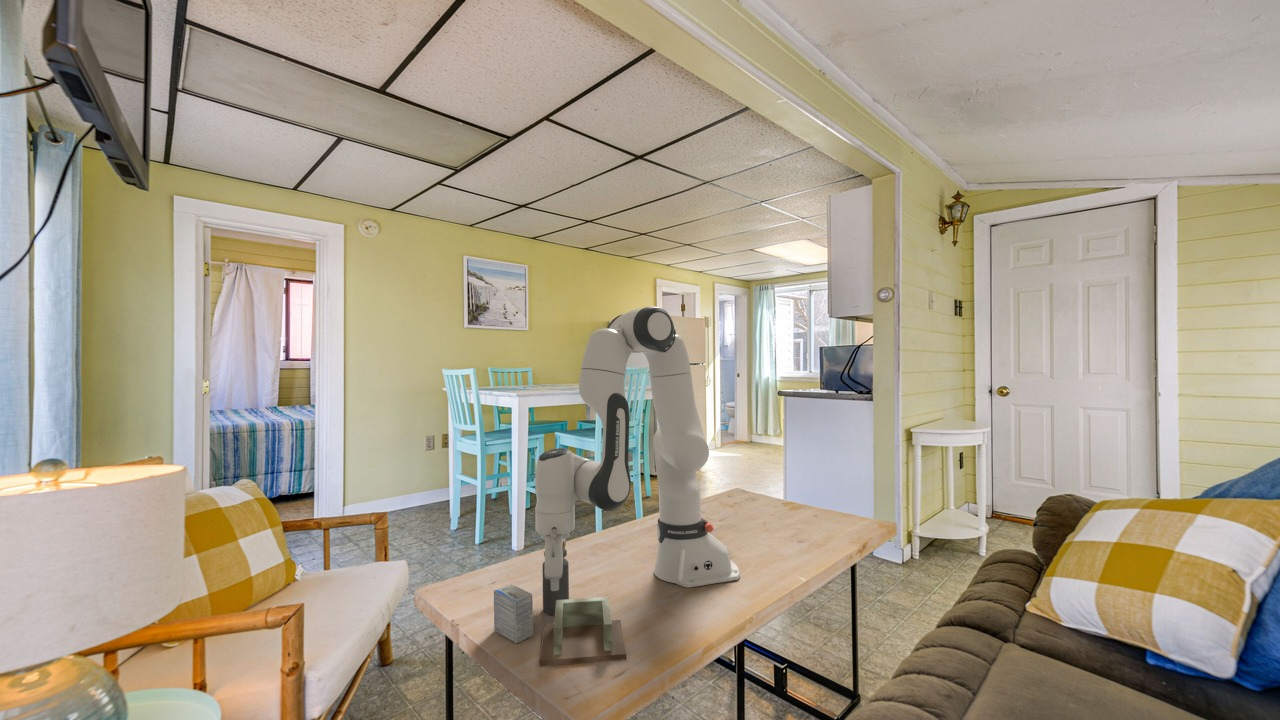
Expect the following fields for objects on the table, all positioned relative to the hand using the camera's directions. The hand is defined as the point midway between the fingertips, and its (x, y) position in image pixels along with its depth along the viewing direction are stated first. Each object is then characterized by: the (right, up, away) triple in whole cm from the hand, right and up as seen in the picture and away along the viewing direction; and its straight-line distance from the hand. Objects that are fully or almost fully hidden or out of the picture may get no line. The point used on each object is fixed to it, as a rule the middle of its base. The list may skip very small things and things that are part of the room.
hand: (555, 582), depth 114 cm
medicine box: (-7, -6, -10) cm, 14 cm away
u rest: (+8, -6, -14) cm, 17 cm away
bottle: (0, -6, 0) cm, 6 cm away
